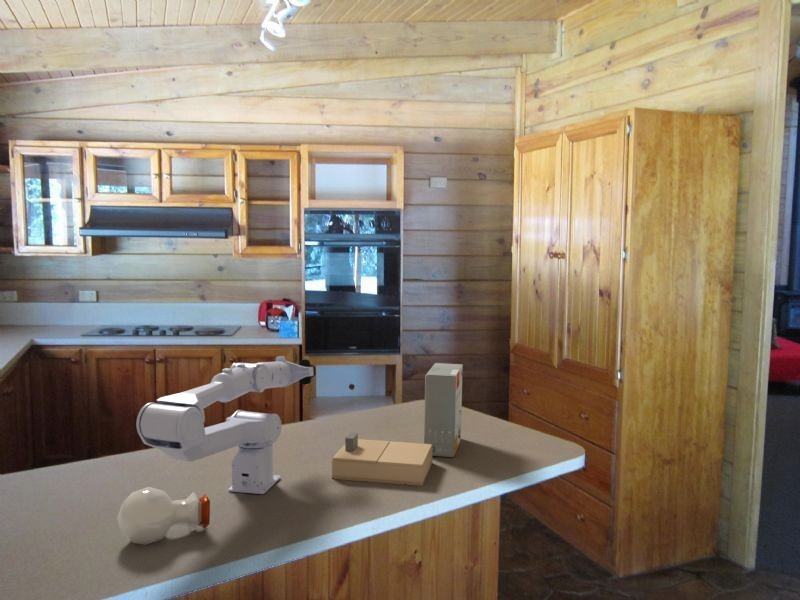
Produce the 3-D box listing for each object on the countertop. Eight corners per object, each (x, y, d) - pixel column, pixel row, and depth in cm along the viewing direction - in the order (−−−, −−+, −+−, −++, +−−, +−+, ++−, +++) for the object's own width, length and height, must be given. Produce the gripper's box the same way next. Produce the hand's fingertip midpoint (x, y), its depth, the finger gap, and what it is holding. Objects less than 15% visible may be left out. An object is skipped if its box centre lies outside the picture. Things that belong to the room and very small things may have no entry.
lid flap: (376, 463, 142) (376, 447, 141) (332, 460, 144) (332, 444, 143) (389, 443, 155) (389, 428, 155) (349, 440, 157) (349, 426, 157)
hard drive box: (454, 458, 157) (455, 376, 155) (423, 456, 158) (423, 374, 156) (461, 438, 172) (462, 363, 170) (432, 436, 174) (433, 361, 171)
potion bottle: (113, 552, 114) (201, 543, 121) (120, 539, 107) (213, 530, 114) (114, 498, 118) (199, 492, 126) (121, 482, 111) (211, 477, 118)
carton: (422, 486, 140) (422, 465, 140) (332, 478, 144) (331, 458, 144) (432, 463, 154) (432, 443, 153) (349, 456, 158) (349, 438, 157)
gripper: (299, 354, 143) (326, 352, 156) (241, 359, 148) (272, 357, 161) (301, 386, 143) (328, 382, 155) (243, 390, 147) (273, 386, 160)
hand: (299, 371), depth 158 cm, fingers open, 7 cm apart
